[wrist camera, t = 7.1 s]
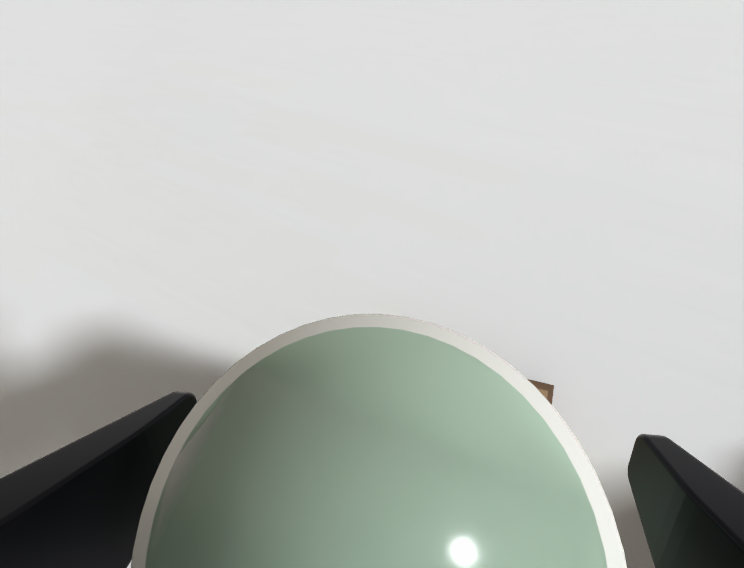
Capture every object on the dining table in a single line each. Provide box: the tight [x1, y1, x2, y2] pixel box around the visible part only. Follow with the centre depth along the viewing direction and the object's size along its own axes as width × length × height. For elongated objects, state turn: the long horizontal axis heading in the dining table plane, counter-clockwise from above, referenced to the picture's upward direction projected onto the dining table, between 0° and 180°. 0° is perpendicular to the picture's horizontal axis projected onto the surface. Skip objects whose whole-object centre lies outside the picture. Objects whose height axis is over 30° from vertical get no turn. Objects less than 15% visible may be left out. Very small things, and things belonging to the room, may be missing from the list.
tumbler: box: [131, 314, 627, 568], centre depth 10 cm, size 6×6×12 cm
